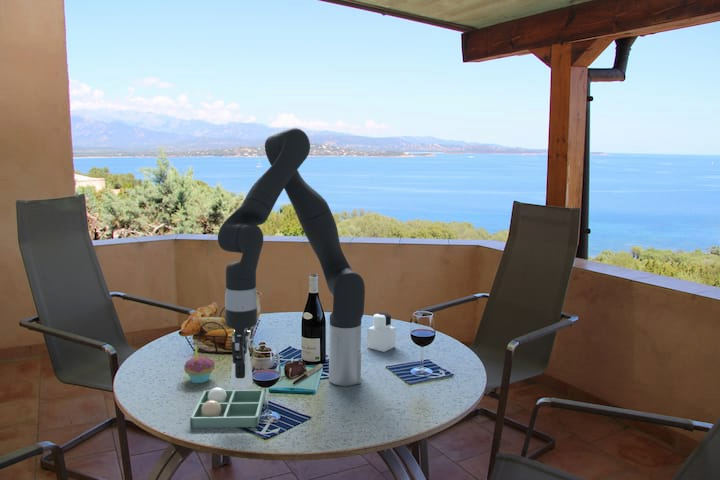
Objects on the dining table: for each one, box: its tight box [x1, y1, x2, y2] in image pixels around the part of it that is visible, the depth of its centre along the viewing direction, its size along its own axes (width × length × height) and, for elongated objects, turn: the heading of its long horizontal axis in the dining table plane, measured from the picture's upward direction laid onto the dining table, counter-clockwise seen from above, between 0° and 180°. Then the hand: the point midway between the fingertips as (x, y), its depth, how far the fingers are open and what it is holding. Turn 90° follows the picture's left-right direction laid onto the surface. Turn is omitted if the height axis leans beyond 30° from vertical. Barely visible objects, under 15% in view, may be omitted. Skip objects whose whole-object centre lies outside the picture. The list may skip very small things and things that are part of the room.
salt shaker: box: [229, 348, 254, 390], centre depth 133 cm, size 5×5×11 cm
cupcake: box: [183, 343, 216, 384], centre depth 157 cm, size 9×8×12 cm
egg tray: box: [189, 389, 265, 429], centre depth 138 cm, size 16×16×3 cm
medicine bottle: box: [367, 312, 397, 353], centre depth 189 cm, size 7×7×12 cm
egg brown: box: [201, 400, 221, 417], centre depth 134 cm, size 5×5×5 cm
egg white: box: [208, 386, 227, 403], centre depth 142 cm, size 5×5×5 cm
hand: (241, 373), depth 133 cm, fingers closed on salt shaker, 4 cm apart
